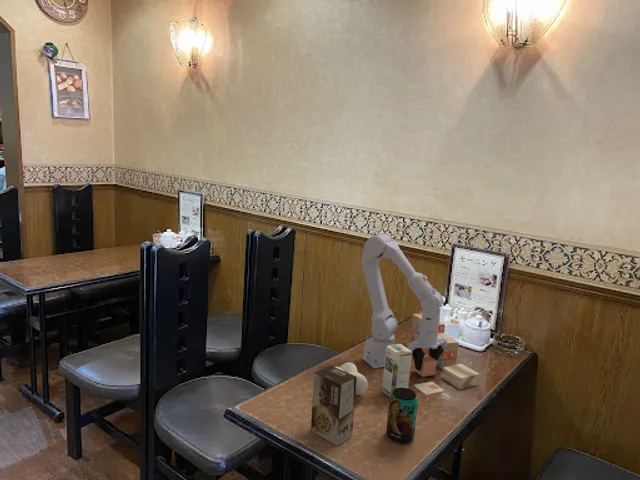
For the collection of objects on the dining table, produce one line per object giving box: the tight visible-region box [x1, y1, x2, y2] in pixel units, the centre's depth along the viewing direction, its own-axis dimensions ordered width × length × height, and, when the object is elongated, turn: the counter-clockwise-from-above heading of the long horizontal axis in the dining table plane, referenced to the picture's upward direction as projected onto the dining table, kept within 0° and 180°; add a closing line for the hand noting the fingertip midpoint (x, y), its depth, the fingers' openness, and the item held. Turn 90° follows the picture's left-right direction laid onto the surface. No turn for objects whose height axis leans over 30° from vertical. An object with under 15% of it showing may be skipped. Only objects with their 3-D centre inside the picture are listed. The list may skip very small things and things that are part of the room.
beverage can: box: [385, 387, 419, 444], centre depth 119 cm, size 7×7×12 cm
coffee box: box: [310, 364, 357, 447], centre depth 118 cm, size 9×6×16 cm
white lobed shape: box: [334, 362, 369, 396], centre depth 138 cm, size 11×12×9 cm
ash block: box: [441, 363, 480, 390], centre depth 152 cm, size 8×8×4 cm
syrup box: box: [381, 343, 413, 398], centre depth 140 cm, size 6×6×14 cm
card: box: [413, 381, 445, 396], centre depth 146 cm, size 7×6×1 cm
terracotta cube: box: [412, 354, 437, 378], centre depth 155 cm, size 5×5×5 cm
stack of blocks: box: [409, 313, 460, 369], centre depth 170 cm, size 21×6×12 cm, turn 18°
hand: (424, 368), depth 155 cm, fingers closed on terracotta cube, 5 cm apart
